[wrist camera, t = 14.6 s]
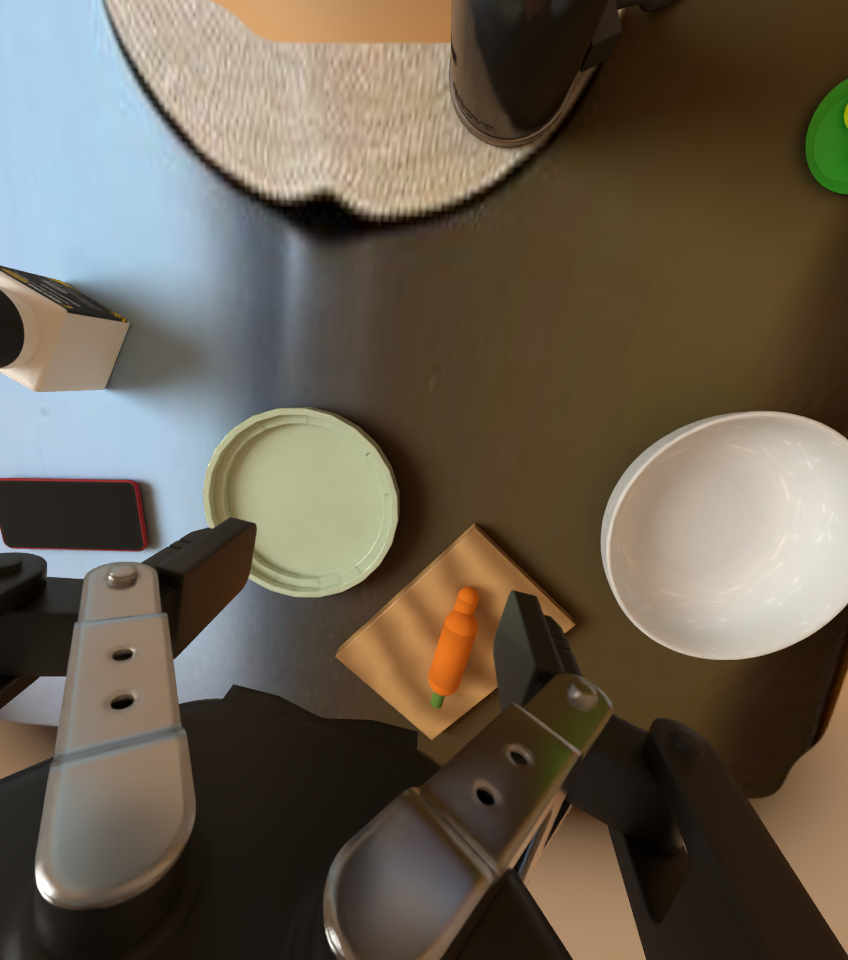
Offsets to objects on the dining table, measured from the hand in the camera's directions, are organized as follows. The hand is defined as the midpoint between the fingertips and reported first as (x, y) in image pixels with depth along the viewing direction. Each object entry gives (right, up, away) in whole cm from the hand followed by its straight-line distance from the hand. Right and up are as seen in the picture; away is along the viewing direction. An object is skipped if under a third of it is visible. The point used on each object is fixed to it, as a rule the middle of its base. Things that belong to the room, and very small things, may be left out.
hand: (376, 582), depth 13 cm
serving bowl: (+27, 0, +27) cm, 38 cm away
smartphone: (-34, 0, +31) cm, 46 cm away
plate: (-10, +1, +29) cm, 30 cm away
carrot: (+4, -13, +30) cm, 33 cm away
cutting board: (+4, -13, +31) cm, 34 cm away
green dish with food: (+34, +29, +20) cm, 49 cm away
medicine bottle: (-30, +16, +26) cm, 43 cm away
